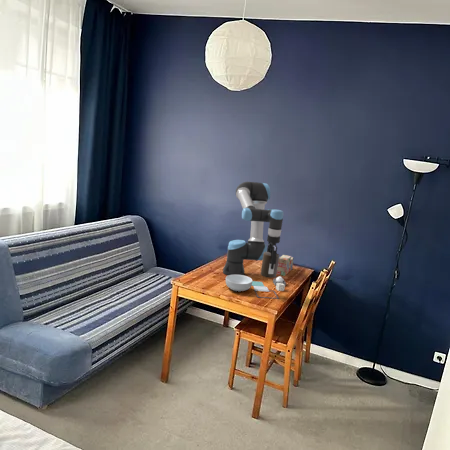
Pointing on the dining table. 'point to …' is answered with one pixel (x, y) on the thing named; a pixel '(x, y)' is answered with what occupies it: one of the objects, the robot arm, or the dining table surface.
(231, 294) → the dining table surface
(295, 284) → the dining table surface
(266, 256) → the pillar candle
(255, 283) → the pad
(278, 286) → the die
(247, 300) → the dining table surface
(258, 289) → the pad one
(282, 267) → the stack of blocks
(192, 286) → the dining table surface
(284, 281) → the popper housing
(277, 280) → the dome
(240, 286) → the cereal bowl
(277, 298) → the ring
